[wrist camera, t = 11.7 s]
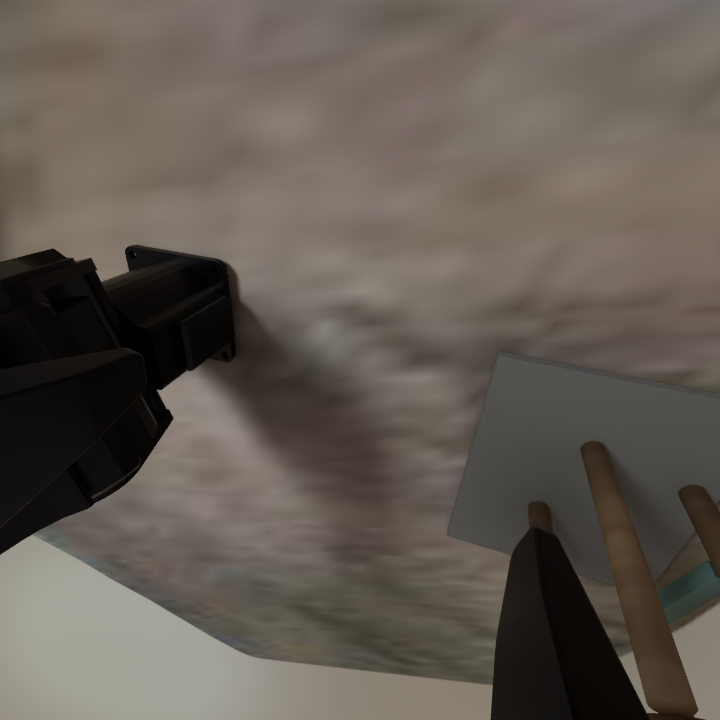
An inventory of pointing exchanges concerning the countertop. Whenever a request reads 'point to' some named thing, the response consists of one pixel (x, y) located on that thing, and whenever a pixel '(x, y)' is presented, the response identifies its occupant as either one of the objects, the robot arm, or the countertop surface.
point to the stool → (650, 582)
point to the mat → (565, 464)
